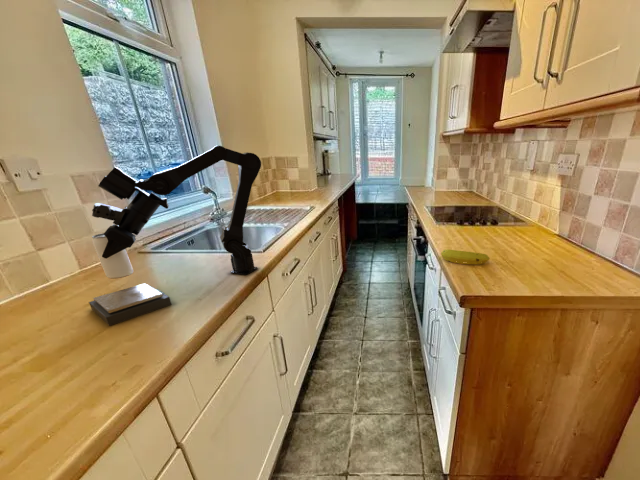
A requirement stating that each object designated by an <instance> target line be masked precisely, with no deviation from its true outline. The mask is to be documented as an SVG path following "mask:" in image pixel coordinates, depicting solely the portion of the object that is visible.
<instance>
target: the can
mask: <svg viewBox="0 0 640 480" xmlns="http://www.w3.org/2000/svg"><path fill="white" fill-rule="evenodd" d="M104 233H105V232H102V233H98V234H95V235H92V236H91V238H92V246H93V248H94V251H95V253H96V255H97V258H98V260H99V263H100V265H101V268H102V270H103V272H104V274H105V277H106V278H108V279H109V280H113V279H122V278H127V277H128V276H131V275H133V274H134V267H133V265H132V263H131V260H130V258H129V254H128V252H127V248H126V249H124V250H122V251H120V252H118V253H116V254H114V255H112V256H110V257H108V258H103V257H102V255H103V252H104V250H105V247H106V245H107V243H108V239H107V237H106V236H105V235H104Z"/></svg>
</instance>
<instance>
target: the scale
mask: <svg viewBox="0 0 640 480" xmlns="http://www.w3.org/2000/svg"><path fill="white" fill-rule="evenodd" d="M148 285H149V284H148ZM149 286H150V287H152V288H154V289H155V290H157V291H159V292H161V293H162V294H163V296H162V297H159V298H156V299H153V300H150V301H146V302H143V303H140V304H137V305H134V306H131V307H128V308H125V309H121V310H118V311H115V312H112V313H108V312H107V311H106V310H105V309H103V308H102V307H101V306H100V305H99V304H98V303H96V302H95V301H94V300H91V301H88V304H89V306H90V308H91V311H92V312H94V313H95V314H96V315H97V316H98V317H99V318H100V319H101V320H102V321H103V322H104V323H106V324H107V326H108V327H111V326H114V325H116V324H120V323H123V322H125V321H128V320H131V319H134V318H137V317H140V316H143V315H146V314H148V313H152V312H155V311H157V310H160V309H163V308H166V307H169V306H172V301H171V298H170V296H169V295H167V294H166V293H165V292H163V291H162V290H160V289H158V288H155V287H153V286H152V285H149Z"/></svg>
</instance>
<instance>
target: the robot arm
mask: <svg viewBox="0 0 640 480" xmlns="http://www.w3.org/2000/svg"><path fill="white" fill-rule="evenodd" d="M221 161H224V162H228V163H231V164H234V165H237V166H238V169H237V170H238V181H237V182H238V184H237V186H236V192H235V196H234V200H233V201H234V202H233V205H232V210H231V215H230V220H229V223H228V225H227V226H225V225H222V228H221V229H222V231H221V235H220V236H219V238H220V241H221V243H222V246H223V248H224V250H225V251H226V252H228V253H230V263H231V268H232V270H231V271H230V274H234V275H244V276H246V275H249V274H251V273H253V272H254V271H256V270H258V269H259V267H258V266H255V264H254V263H255V262H254V257H253V253H252V250H251V248H250V247H249V244H248V243H246V242H244V223H245V219H246V213H247V209H248V204H249V200H250V196H251V191H252V187H253V184H254V183H255V180H256V178H257V177H258V175H259V173H260V170H261V168H262V160H261V158H260V157H259V156H258V155H257V154H255V153H254V152H249V151H247V152H242V153H241V152H239V151H236V150H232V149H229V148H226V147H225V146H222V145H215V146H213V147H212V148H211V149H209V150H207V151H205V152H203V153H201V154H199V155H198V156H195V157H193V158H192V159H190V160H188V161H186V162H184V163H182V164H180V165H178V166H175V167H172V168H168V169H165V170H162V171H157V172H155V173H153V174H152V175H151V176H150V177H148V178H144V179H142V178H139V180H137V179H135V178H133V177H132V176H130V175H128V174H127V173H126V172H124V171H123V170H122V169H120V168H119V167H118V166H115V167H113V168H112V170H110V171H109V173H108V174H107V175H104V176H103V178H102V179H101V180H100V182H99V183H98V187H99V188H100V189H102V190H103V191H106V192H107V193H109V194H110V195H112V196H113V197H116V198H117V199H119V200H122V201H123V200H130V199H131V198H132V196H134V194H135V192H137V193H136V195H135V196H134V197H133V198H132V200H131V201H130V202H129V204H128V205H127V206H125V207H124V208H120V207H117V206H113V205H109V204H105V203H102V202H96V203H94V204H93V208H92V210H91V211H92V214H91V216H92V217H94V218H97V219H98V218H99V219H104V220H108V221H113V222H112V225H110V226H109V227H107V229H106V230H105V231H104V232H103V233H104V235H105V236H106V237H107V239H108V243H107V245H106V247H105V250H104V252H103V255H102V257H103V258H108V257H110V256H112V255H114V254H116V253H118V252H120V251H122V250H124V249H126V250H127V249H128V248H132V246H133V245H134V243H135V242H136V241H137V238H136V237H137V236H138V235H139V234H140V232H141V231H142V230H143V228H144V227H145V226H146V225H147V223H148V222H149V220H150V219H151V218H152V217H153V215H154V214H155V213H156V212H157V210H158V209H159V208H160V206H161V207H162V208H164V209H165V210H166V209H169V207H170V205H169V203H168V198H167V197H161V196H167V195H169V194H171V193H172V192H173V191H174V190H176V189H177V188H178V187H179V186H180V185H182V184H183V183H184V181H186V180H188V179H190V178H191V177H193V176H195V175H197V174H198V173H201V172H202V171H204V170H206V169H207V168H209V167H212V166H214V165H215V164H217V163H219V162H221ZM147 191H149V192H150V193H148V192H147Z"/></svg>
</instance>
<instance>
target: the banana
mask: <svg viewBox="0 0 640 480" xmlns="http://www.w3.org/2000/svg"><path fill="white" fill-rule="evenodd" d="M440 255H441V257H442V258H443V260H444V261H445V260H446V262H450V263H454V264H460V265H482V264H485V263H487V262H488V261H490V256H489V255H488V254H486V253H482V252H481V253H480V252H474V251H466V250H457V249H449V248H447V249H443V250H442V251H441V252H440ZM456 261H457V262H456ZM463 262H467V263H463ZM481 262H482V263H481Z"/></svg>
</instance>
